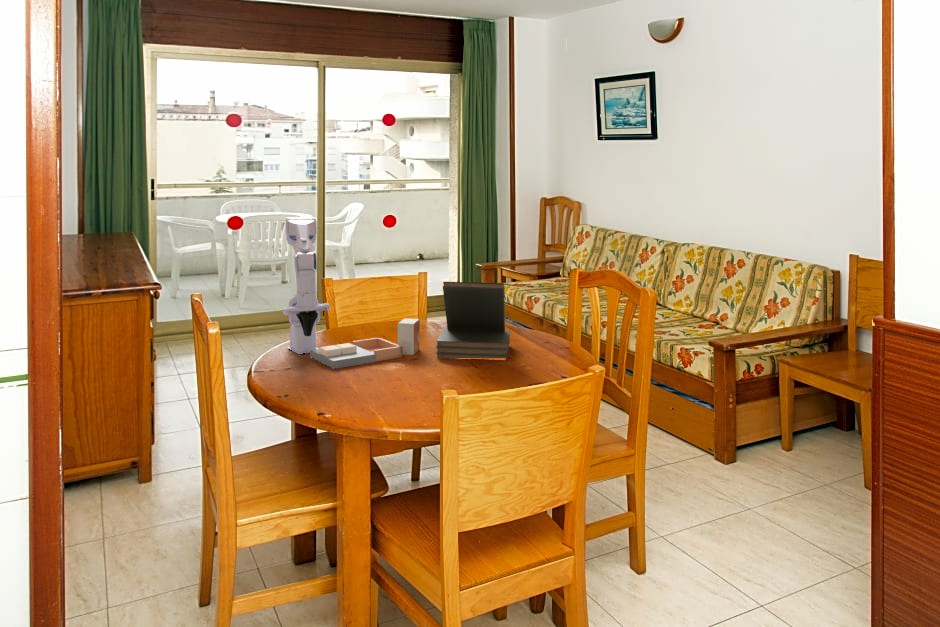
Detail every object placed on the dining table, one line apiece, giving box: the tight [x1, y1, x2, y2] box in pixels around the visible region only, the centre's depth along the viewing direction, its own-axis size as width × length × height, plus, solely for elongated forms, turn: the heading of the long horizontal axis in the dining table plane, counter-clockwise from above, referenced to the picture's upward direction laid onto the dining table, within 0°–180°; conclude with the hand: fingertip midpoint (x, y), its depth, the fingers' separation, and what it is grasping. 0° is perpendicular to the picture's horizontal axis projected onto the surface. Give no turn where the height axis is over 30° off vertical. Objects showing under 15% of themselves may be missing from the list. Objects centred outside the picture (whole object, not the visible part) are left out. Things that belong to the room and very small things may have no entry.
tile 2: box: [334, 342, 357, 354], centre depth 252 cm, size 5×5×2 cm
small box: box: [397, 318, 421, 356], centre depth 263 cm, size 8×6×10 cm
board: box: [309, 345, 377, 370], centre depth 252 cm, size 16×15×2 cm
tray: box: [352, 337, 404, 362], centre depth 260 cm, size 15×10×4 cm, turn 37°
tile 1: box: [318, 344, 341, 357], centre depth 249 cm, size 5×5×2 cm
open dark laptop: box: [435, 281, 511, 359], centre depth 262 cm, size 23×20×25 cm
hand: (307, 335), depth 244 cm, fingers closed
